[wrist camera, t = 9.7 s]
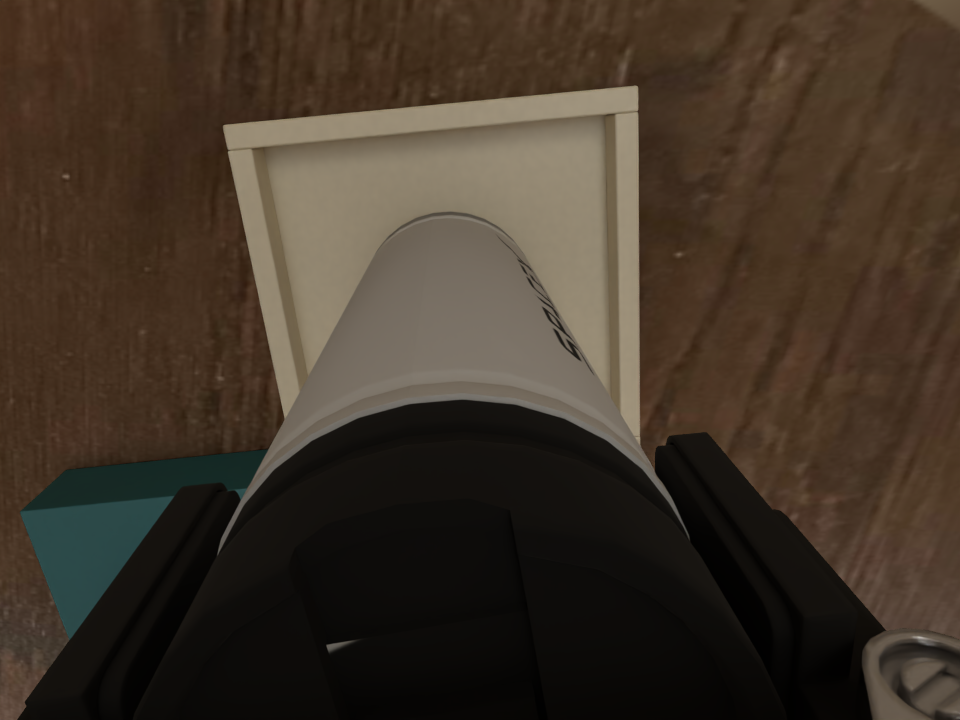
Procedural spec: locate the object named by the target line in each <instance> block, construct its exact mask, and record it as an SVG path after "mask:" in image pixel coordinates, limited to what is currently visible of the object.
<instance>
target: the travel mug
mask: <svg viewBox="0 0 960 720" xmlns="http://www.w3.org/2000/svg"><path fill="white" fill-rule="evenodd" d="M133 720H787V716H786V711H785V709H784V706H783V704H782V702H781V700H780V698H779V696H778V694H777V691H776V689H775V687H774V685H773V683H772V681H771V678H770V676H769V674H768V672H767V670H766V668H765V666H764V663H763V661H762V659H761V657H760V656H759V654H758V652H757V651H756V649H755V647H754V646H753V644H752V642H751V641H750V639H749V637H748V635H747V634H746V632H745V630H744V629H743V627H742V625H741V624H740V622H739V620H738V619H737V617H736V615H735V613H734V612H733V610H732V608H731V607H730V605H729V603H728V602H727V600H726V598H725V597H724V595H723V593H722V591H721V590H720V588H719V586H718V585H717V583H716V581H715V580H714V578H713V576H712V574H711V573H710V571H709V569H708V568H707V566H706V564H705V563H704V561H703V559H702V558H701V556H700V554H699V553H698V552H697V551H696V549H695V548H694V547H693V546H692V544H691V542H690V538H689V535H688V532H687V530H686V528H685V526H684V524H683V522H682V519H681V517H680V515H679V513H678V511H677V508H676V506H675V504H674V502H673V500H672V498H671V496H670V495H669V493H668V491H667V490H666V488H665V486H664V485H663V483H662V482H661V481H660V479H659V478H658V477H657V476H656V473H655V471H654V469H653V467H652V465H651V463H650V461H649V460H648V458H647V457H646V455H645V453H644V452H643V450H642V448H641V447H640V445H639V443H638V442H637V440H636V438H635V437H634V435H633V433H632V432H631V430H630V428H629V427H628V425H627V424H626V422H625V420H624V419H623V417H622V415H621V414H620V412H619V410H618V409H617V407H616V405H615V404H614V402H613V400H612V399H611V397H610V395H609V394H608V392H607V390H606V389H605V387H604V386H603V384H602V382H601V381H600V379H599V377H598V376H597V374H596V372H595V371H594V369H593V367H592V366H591V364H590V362H589V361H588V359H587V357H586V356H585V354H584V352H583V351H582V349H581V348H580V346H579V344H578V343H577V341H576V339H575V338H574V336H573V334H572V333H571V331H570V329H569V328H568V326H567V324H566V323H565V321H564V319H563V318H562V316H561V314H560V313H559V311H558V310H557V308H556V306H555V305H554V303H553V301H552V300H551V298H550V296H549V295H548V293H547V291H546V290H545V288H544V286H543V285H542V283H541V281H540V280H539V278H538V277H537V275H536V273H535V272H534V270H533V268H532V267H531V265H530V263H529V262H528V260H527V258H526V257H525V255H524V253H523V252H522V251H521V249H520V248H519V247H518V245H517V244H516V243H515V241H514V240H513V239H512V238H511V237H510V236H509V235H508V234H507V233H505V232H504V231H503V230H502V229H501V228H500V227H498V226H496V225H494V224H493V223H491V222H489V221H487V220H486V219H483V218H480V217H477V216H474V215H471V214H468V213H460V212H452V211H450V212H438V213H431V214H428V215H424V216H421V217H417V218H415V219H413V220H411V221H409V222H407V223H406V224H404V225H402V226H400V227H399V228H398V229H397V230H395V231H394V232H393V233H392V234H391V235H389V236H388V237H387V238H386V240H385V241H384V242H383V243H382V245H381V246H380V247H379V248H378V250H377V251H376V253H375V255H374V257H373V259H372V260H371V262H370V264H369V266H368V268H367V270H366V271H365V273H364V275H363V277H362V279H361V281H360V282H359V284H358V286H357V288H356V290H355V292H354V294H353V295H352V297H351V299H350V301H349V303H348V305H347V306H346V308H345V310H344V312H343V314H342V316H341V317H340V319H339V321H338V323H337V325H336V327H335V328H334V330H333V332H332V334H331V336H330V338H329V339H328V341H327V343H326V345H325V347H324V349H323V350H322V352H321V354H320V356H319V358H318V360H317V361H316V363H315V365H314V367H313V369H312V371H311V373H310V374H309V376H308V378H307V380H306V382H305V384H304V385H303V387H302V389H301V391H300V393H299V395H298V396H297V398H296V400H295V402H294V404H293V406H292V407H291V409H290V411H289V413H288V415H287V417H286V418H285V420H284V422H283V424H282V426H281V428H280V429H279V431H278V433H277V435H276V437H275V439H274V440H273V442H272V444H271V446H270V448H269V450H268V451H267V453H266V455H265V457H264V459H263V461H262V463H261V464H260V466H259V468H258V470H257V472H256V474H255V476H254V478H253V480H252V482H251V484H250V485H249V486H248V488H247V490H246V492H245V494H244V496H243V497H242V499H241V501H240V503H239V505H238V507H237V509H236V511H235V513H234V515H233V517H232V519H231V521H230V523H229V525H228V526H227V528H226V530H225V532H224V534H223V536H222V538H221V541H220V545H219V550H218V554H217V557H216V559H215V560H214V562H213V564H212V566H211V568H210V570H209V572H208V574H207V576H206V577H205V579H204V581H203V583H202V585H201V587H200V589H199V591H198V593H197V595H196V597H195V598H194V600H193V602H192V604H191V606H190V608H189V610H188V612H187V614H186V616H185V618H184V619H183V621H182V623H181V625H180V627H179V629H178V631H177V633H176V635H175V637H174V638H173V640H172V642H171V644H170V646H169V648H168V649H167V651H166V653H165V655H164V657H163V659H162V661H161V662H160V664H159V666H158V668H157V670H156V672H155V674H154V676H153V678H152V680H151V682H150V684H149V686H148V688H147V690H146V691H145V693H144V695H143V697H142V699H141V701H140V703H139V705H138V707H137V709H136V711H135V713H134V717H133Z"/></svg>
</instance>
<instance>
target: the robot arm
mask: <svg viewBox="0 0 960 720" xmlns="http://www.w3.org/2000/svg"><path fill="white" fill-rule="evenodd" d="M655 473H656V476H657V477H658V478H659V479H660V481H661V482H662V483H663V485H664V486H665V488H666V490H667V491H668V493H669V495H670V496H671V498H672V500H673V502H674V504H675V506H676V508H677V511H678V513H679V515H680V517H681V519H682V522H683V524H684V526H685V528H686V530H687V532H688V535H689V538H690V542H691V544H692V546H693V547H694V548H695V549H696V551H697V552H698V553H699V554H700V556H701V558H702V559H703V561H704V563H705V564H706V566H707V568H708V569H709V571H710V573H711V574H712V576H713V578H714V580H715V581H716V583H717V585H718V586H719V588H720V590H721V591H722V593H723V595H724V597H725V598H726V600H727V602H728V603H729V605H730V607H731V608H732V610H733V612H734V613H735V615H736V617H737V619H738V620H739V622H740V624H741V625H742V627H743V629H744V630H745V632H746V634H747V635H748V637H749V639H750V641H751V642H752V644H753V646H754V647H755V649H756V651H757V652H758V654H759V656H760V657H761V659H762V661H763V663H764V666H765V668H766V670H767V672H768V674H769V676H770V678H771V681H772V683H773V685H774V687H775V689H776V691H777V694H778V696H779V698H780V700H781V702H782V704H783V706H784V709H785V711H786V716H787V720H960V640H959V639H957V638H954V637H952V636H948V635H945V634H941V633H937V632H933V631H929V630H921V629H907V628H902V629H895V630H889V631H886V630H885V629H884V628H883V626H882V625H881V624H880V623H879V622H878V621H877V620H876V618H875V617H874V616H873V615H872V614H871V613H870V611H869V610H868V609H867V608H866V607H865V606H864V605H863V603H862V602H861V601H860V600H859V599H858V598H857V596H856V595H855V594H854V593H853V592H852V591H851V590H850V588H849V587H848V586H847V585H846V584H845V583H844V581H843V580H842V579H841V578H840V577H839V576H838V575H837V573H836V572H835V571H834V570H833V569H832V568H831V566H830V565H829V564H828V563H827V562H826V561H825V560H824V558H823V557H822V556H821V555H820V554H819V553H818V551H817V550H816V549H815V548H814V547H813V546H812V545H811V543H810V542H809V541H808V540H807V539H806V538H805V536H804V535H803V534H802V533H801V532H800V531H799V530H798V528H797V527H796V526H795V525H794V524H793V523H792V521H791V520H790V519H789V518H788V517H787V516H786V515H785V514H784V513H782V512H781V511H779V510H775V509H774V510H772V509H771V508H770V506H769V505H768V504H767V503H766V502H765V501H764V499H763V498H762V497H761V496H760V495H759V493H758V492H757V491H756V490H755V489H754V487H753V486H752V485H751V484H750V483H749V482H748V480H747V479H746V478H745V477H744V476H743V474H742V473H741V472H740V471H739V470H738V468H737V467H736V466H735V465H734V464H733V463H732V461H731V460H730V459H729V458H728V457H727V455H726V454H725V453H724V452H723V451H722V450H721V448H720V447H719V446H718V445H717V444H716V442H715V441H714V440H713V439H712V438H711V436H710V435H709V434H707V433H706V432H702V433H693V434H683V435H673V436H669V437H668V438H667V442H666V446H658V447H657V448H656V452H655ZM240 501H241V500H240V497H239V495H238V493H237V492H236V491H235V490H232V491H228V490H227V488H226V487H225V485H224V484H223V483H221V482H220V483H210V484H200V485H191V486H183V487H182V488H181V489H179V491H178V492H177V493H176V495H175V496H174V497H173V499H172V500H171V502H170V503H169V504H168V506H167V507H166V508H165V510H164V511H163V513H162V514H161V515H160V517H159V518H158V519H157V521H156V522H155V524H154V525H153V526H152V528H151V529H150V530H149V532H148V533H147V535H146V536H145V537H144V539H143V540H142V541H141V543H140V544H139V546H138V547H137V548H136V550H135V551H134V552H133V554H132V555H131V557H130V558H129V559H128V561H127V562H126V563H125V565H124V566H123V568H122V569H121V570H120V572H119V573H118V574H117V576H116V577H115V579H114V580H113V581H112V583H111V584H110V585H109V587H108V588H107V590H106V591H105V592H104V594H103V595H102V596H101V598H100V599H99V601H98V602H97V603H96V605H95V606H94V607H93V609H92V610H91V612H90V613H89V614H88V616H87V617H86V618H85V620H84V621H83V623H82V624H81V625H80V627H79V628H78V629H77V631H76V632H75V634H74V635H73V636H72V638H71V639H70V640H69V642H68V643H67V645H66V646H65V647H64V649H63V650H62V651H61V653H60V654H59V656H58V657H57V658H56V660H55V661H54V662H53V664H52V665H51V667H50V668H49V669H48V671H47V672H46V673H45V675H44V676H43V678H42V679H41V680H40V682H39V683H38V684H37V686H36V687H35V689H34V690H33V691H32V693H31V694H30V695H29V697H28V698H27V700H26V701H25V704H26V706H27V707H26V708H25V709H24V711H23V712H22V714H21V715H20V716H19V718H18V719H17V720H133V717H134V713H135V711H136V709H137V707H138V705H139V703H140V701H141V699H142V697H143V695H144V693H145V691H146V690H147V688H148V686H149V684H150V682H151V680H152V678H153V676H154V674H155V672H156V670H157V668H158V666H159V664H160V662H161V661H162V659H163V657H164V655H165V653H166V651H167V649H168V648H169V646H170V644H171V642H172V640H173V638H174V637H175V635H176V633H177V631H178V629H179V627H180V625H181V623H182V621H183V619H184V618H185V616H186V614H187V612H188V610H189V608H190V606H191V604H192V602H193V600H194V598H195V597H196V595H197V593H198V591H199V589H200V587H201V585H202V583H203V581H204V579H205V577H206V576H207V574H208V572H209V570H210V568H211V566H212V564H213V562H214V560H215V559H216V557H217V554H218V550H219V545H220V541H221V538H222V536H223V534H224V532H225V530H226V528H227V526H228V525H229V523H230V521H231V519H232V517H233V515H234V513H235V511H236V509H237V507H238V505H239V503H240Z"/></svg>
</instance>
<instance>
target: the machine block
mask: <svg viewBox="0 0 960 720" xmlns="http://www.w3.org/2000/svg"><path fill="white" fill-rule="evenodd" d="M268 450H269V449H267V450H257V451H247V452H237V453H227V454H218V455H208V456H198V457H188V458H178V459H169V460H159V461H149V462H139V463H129V464H120V465H110V466H100V467H90V468H80V469H71V470H66V471H64V472H63V473H62V474H61V475H60V476H59V477H58V478H57V479H56V480H54V481H53V482H52V483H51V484H50V485H49V486H48V487H47V488H46V489H45V490H43V491H42V492H41V493H40V494H39V495H38V496H37V497H36V498H35V499H33V500H32V501H31V502H30V503H29V504H28V505H27V506H26V507H25V508H24V509H22V510H21V511H20V514H21V517H22V519H23V522H24V524H25V527H26V530H27V532H28V535H29V537H30V540H31V542H32V545H33V548H34V550H35V553H36V555H37V558H38V560H39V563H40V566H41V568H42V571H43V573H44V576H45V578H46V581H47V584H48V586H49V589H50V591H51V594H52V596H53V599H54V602H55V604H56V607H57V609H58V612H59V614H60V617H61V620H62V622H63V625H64V627H65V630H66V632H67V635H68V638H69V640H70V639H71V638H72V636H73V635H74V634H75V632H76V631H77V629H78V628H79V627H80V625H81V624H82V623H83V621H84V620H85V618H86V617H87V616H88V614H89V613H90V612H91V610H92V609H93V607H94V606H95V605H96V603H97V602H98V601H99V599H100V598H101V596H102V595H103V594H104V592H105V591H106V590H107V588H108V587H109V585H110V584H111V583H112V581H113V580H114V579H115V577H116V576H117V574H118V573H119V572H120V570H121V569H122V568H123V566H124V565H125V563H126V562H127V561H128V559H129V558H130V557H131V555H132V554H133V552H134V551H135V550H136V548H137V547H138V546H139V544H140V543H141V541H142V540H143V539H144V537H145V536H146V535H147V533H148V532H149V530H150V529H151V528H152V526H153V525H154V524H155V522H156V521H157V519H158V518H159V517H160V515H161V514H162V513H163V511H164V510H165V508H166V507H167V506H168V504H169V503H170V502H171V500H172V499H173V497H174V496H175V495H176V493H177V492H178V491H179V489H181V488H182V487H183V486H191V485H200V484H210V483H220V482H221V483H223V484H224V485H225V487H226V488H227V490H228V491H232V490H235V491H236V492H237V493H238V495H239V497H240V500H241V499H242V497H243V496H244V494H245V492H246V490H247V488H248V486H249V485H250V484H251V482H252V480H253V478H254V476H255V474H256V472H257V470H258V468H259V466H260V464H261V463H262V461H263V459H264V457H265V455H266V453H267V451H268Z"/></svg>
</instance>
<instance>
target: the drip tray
mask: <svg viewBox="0 0 960 720" xmlns="http://www.w3.org/2000/svg"><path fill="white" fill-rule="evenodd" d="M636 111H638V86H627V87H617V88H606V89H596V90H585V91H575V92H564V93H554V94H543V95H533V96H522V97H512V98H501V99H490V100H480V101H469V102H459V103H448V104H438V105H427V106H417V107H406V108H396V109H385V110H375V111H364V112H354V113H343V114H333V115H322V116H311V117H301V118H290V119H280V120H269V121H259V122H248V123H238V124H227V125H224V126H223V130H224V135H225V140H226V144H227V148H228V150H230V151H228V155H229V159H230V164H231V169H232V173H233V178H234V183H235V188H236V192H237V197H238V202H239V206H240V211H241V216H242V220H243V225H244V230H245V235H246V239H247V244H248V249H249V253H250V258H251V263H252V267H253V272H254V277H255V282H256V286H257V291H258V296H259V300H260V305H261V310H262V314H263V319H264V324H265V329H266V333H267V338H268V343H269V347H270V352H271V357H272V361H273V366H274V371H275V376H276V380H277V385H278V390H279V394H280V399H281V404H282V408H283V413H284V418H286V417H287V415H288V413H289V411H290V409H291V407H292V406H293V404H294V402H295V400H296V398H297V396H298V395H299V393H300V391H301V389H302V387H303V385H304V384H305V382H306V380H307V378H308V376H309V374H310V373H311V371H312V369H313V367H314V365H315V363H316V361H317V360H318V358H319V356H320V354H321V352H322V350H323V349H324V347H325V345H326V343H327V341H328V339H329V338H330V336H331V334H332V332H333V330H334V328H335V327H336V325H337V323H338V321H339V319H340V317H341V316H342V314H343V312H344V310H345V308H346V306H347V305H348V303H349V301H350V299H351V297H352V295H353V294H354V292H355V290H356V288H357V286H358V284H359V282H360V281H361V279H362V277H363V275H364V273H365V271H366V270H367V268H368V266H369V264H370V262H371V260H372V259H373V257H374V255H375V253H376V251H377V250H378V248H379V247H380V246H381V245H382V243H383V242H384V241H385V240H386V238H387V237H388V236H389V235H391V234H392V233H393V232H394V231H395V230H397V229H398V228H399V227H400V226H402V225H404V224H406V223H407V222H409V221H411V220H413V219H415V218H417V217H421V216H424V215H428V214H431V213H438V212H450V211H452V212H460V213H468V214H471V215H474V216H477V217H480V218H483V219H486V220H487V221H489V222H491V223H493V224H494V225H496V226H498V227H500V228H501V229H502V230H503V231H504V232H505V233H507V234H508V235H509V236H510V237H511V238H512V239H513V240H514V241H515V243H516V244H517V245H518V247H519V248H520V249H521V251H522V252H523V253H524V255H525V257H526V258H527V260H528V262H529V263H530V265H531V267H532V268H533V270H534V272H535V273H536V275H537V277H538V278H539V280H540V281H541V283H542V285H543V286H544V288H545V290H546V291H547V293H548V295H549V296H550V298H551V300H552V301H553V303H554V305H555V306H556V308H557V310H558V311H559V313H560V314H561V316H562V318H563V319H564V321H565V323H566V324H567V326H568V328H569V329H570V331H571V333H572V334H573V336H574V338H575V339H576V341H577V343H578V344H579V346H580V348H581V349H582V351H583V352H584V354H585V356H586V357H587V359H588V361H589V362H590V364H591V366H592V367H593V369H594V371H595V372H596V374H597V376H598V377H599V379H600V381H601V382H602V384H603V386H604V387H605V389H606V390H607V392H608V394H609V395H610V397H611V399H612V400H613V402H614V404H615V405H616V407H617V409H618V410H619V412H620V414H621V415H622V417H623V419H624V420H625V422H626V424H627V425H628V427H629V428H630V430H631V432H632V433H633V435H634V437H635V438H636V440H637V442H638V443H639V445H640V436H639V435H640V339H639V152H638V112H636Z"/></svg>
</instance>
